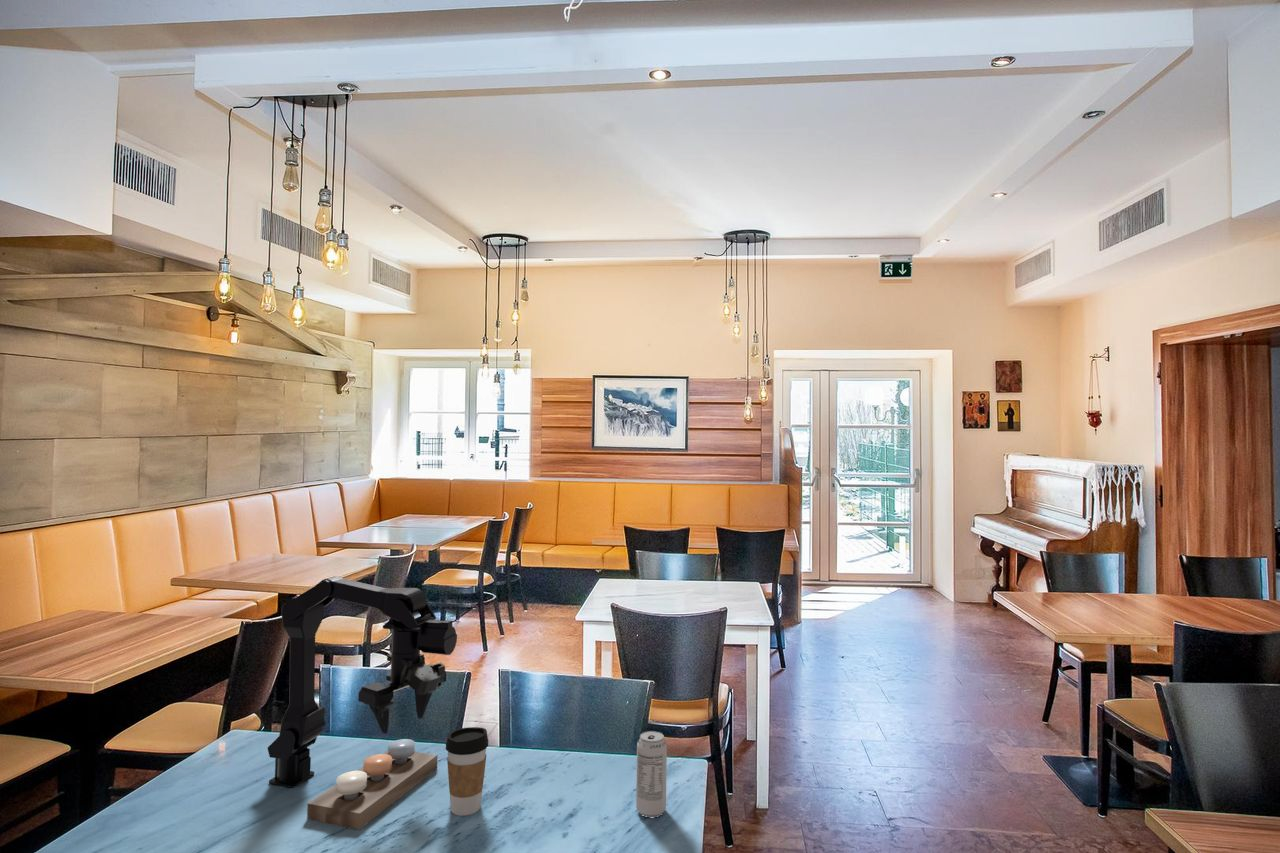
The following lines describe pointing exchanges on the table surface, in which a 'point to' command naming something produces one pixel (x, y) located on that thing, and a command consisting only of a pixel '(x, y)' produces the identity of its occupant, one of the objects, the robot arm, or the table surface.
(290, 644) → the robot arm
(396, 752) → the slate button
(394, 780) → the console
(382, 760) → the terracotta button
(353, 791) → the cream button
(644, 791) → the energy drink can
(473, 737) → the coffee cup
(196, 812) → the table surface
